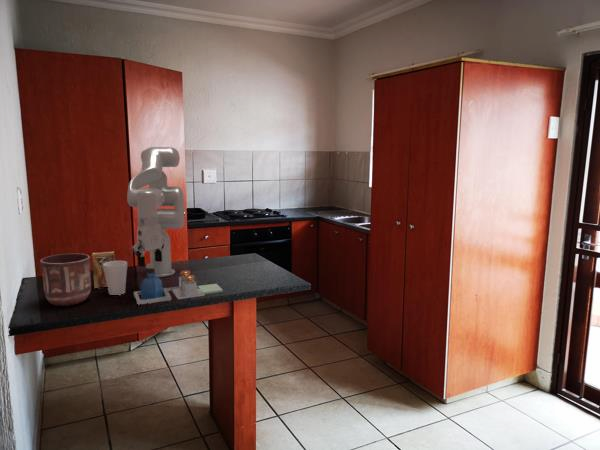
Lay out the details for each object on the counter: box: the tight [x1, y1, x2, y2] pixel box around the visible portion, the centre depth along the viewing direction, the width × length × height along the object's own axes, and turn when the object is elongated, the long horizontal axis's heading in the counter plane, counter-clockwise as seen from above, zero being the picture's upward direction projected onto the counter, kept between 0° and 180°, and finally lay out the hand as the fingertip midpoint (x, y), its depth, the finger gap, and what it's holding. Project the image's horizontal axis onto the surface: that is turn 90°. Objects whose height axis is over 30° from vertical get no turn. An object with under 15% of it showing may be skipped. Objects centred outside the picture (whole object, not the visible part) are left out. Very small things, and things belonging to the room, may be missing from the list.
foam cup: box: [103, 260, 128, 296], centre depth 193 cm, size 10×9×13 cm
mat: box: [197, 283, 224, 295], centre depth 199 cm, size 10×10×1 cm
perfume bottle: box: [140, 268, 164, 300], centre depth 187 cm, size 6×6×12 cm
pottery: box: [39, 252, 92, 307], centre depth 182 cm, size 18×18×18 cm
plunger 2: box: [184, 274, 195, 284], centre depth 190 cm, size 4×4×7 cm
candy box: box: [91, 251, 116, 289], centre depth 202 cm, size 9×4×15 cm, turn 110°
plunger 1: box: [179, 269, 191, 279], centre depth 197 cm, size 4×4×7 cm
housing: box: [133, 275, 206, 306], centre depth 191 cm, size 26×14×6 cm, turn 116°
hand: (150, 263), depth 185 cm, fingers open, 9 cm apart
